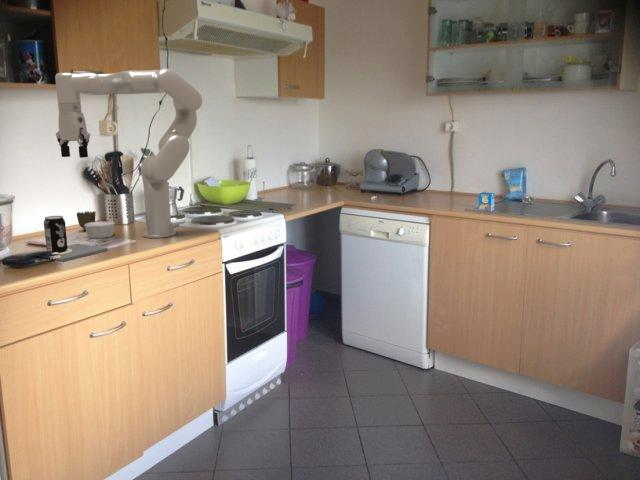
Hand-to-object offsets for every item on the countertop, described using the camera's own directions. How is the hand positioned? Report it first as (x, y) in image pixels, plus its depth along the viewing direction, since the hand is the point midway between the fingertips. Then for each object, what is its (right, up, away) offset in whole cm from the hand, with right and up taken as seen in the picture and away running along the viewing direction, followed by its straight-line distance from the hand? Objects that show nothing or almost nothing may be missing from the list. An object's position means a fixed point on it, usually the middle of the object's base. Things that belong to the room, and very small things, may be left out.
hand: (74, 157), depth 205 cm
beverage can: (-1, -34, -11) cm, 36 cm away
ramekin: (+1, -29, +21) cm, 36 cm away
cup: (-8, -27, +32) cm, 42 cm away
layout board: (+3, -35, -9) cm, 36 cm away
